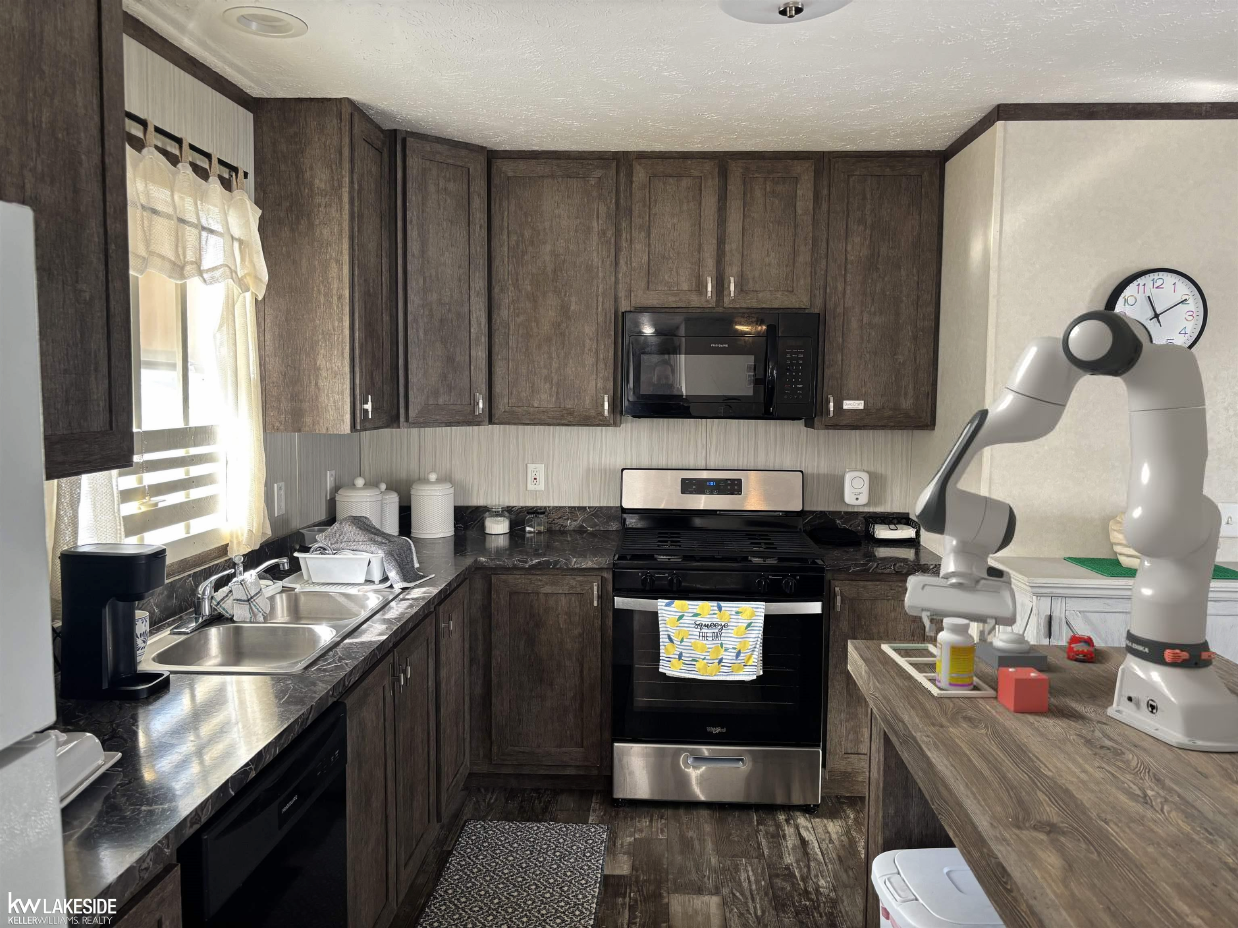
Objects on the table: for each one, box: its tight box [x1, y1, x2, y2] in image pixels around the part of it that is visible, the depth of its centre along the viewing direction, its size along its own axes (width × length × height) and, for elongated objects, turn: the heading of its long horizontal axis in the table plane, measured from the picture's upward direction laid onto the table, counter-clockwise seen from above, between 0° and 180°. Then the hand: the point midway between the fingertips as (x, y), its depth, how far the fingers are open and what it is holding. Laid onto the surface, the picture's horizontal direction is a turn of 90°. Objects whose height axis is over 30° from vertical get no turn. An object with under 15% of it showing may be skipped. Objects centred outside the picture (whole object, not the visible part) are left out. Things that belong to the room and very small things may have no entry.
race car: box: [1066, 633, 1097, 663], centre depth 185 cm, size 13×5×4 cm, turn 150°
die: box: [997, 668, 1050, 713], centre depth 153 cm, size 6×6×6 cm
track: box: [880, 643, 998, 698], centre depth 173 cm, size 31×11×1 cm, turn 1°
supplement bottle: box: [935, 617, 976, 691], centre depth 163 cm, size 7×7×13 cm
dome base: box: [975, 641, 1048, 671], centre depth 179 cm, size 10×10×3 cm
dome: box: [992, 631, 1031, 653], centre depth 178 cm, size 7×7×3 cm
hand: (956, 637), depth 164 cm, fingers open, 8 cm apart
